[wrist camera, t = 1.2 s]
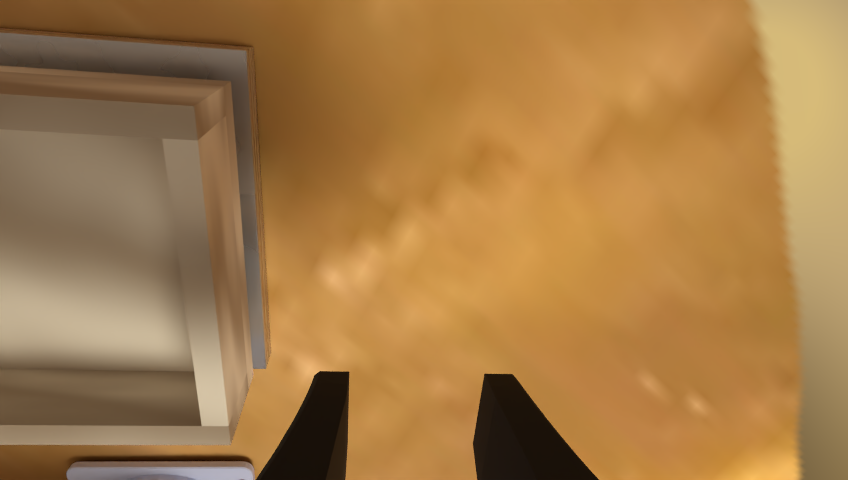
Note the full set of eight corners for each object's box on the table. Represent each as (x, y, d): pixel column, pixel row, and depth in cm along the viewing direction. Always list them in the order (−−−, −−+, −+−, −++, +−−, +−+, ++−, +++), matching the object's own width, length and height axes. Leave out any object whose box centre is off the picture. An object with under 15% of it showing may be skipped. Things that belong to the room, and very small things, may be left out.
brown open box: (258, 359, 20) (230, 445, 17) (-39, 354, 19) (-141, 445, 16) (238, 75, 16) (194, 106, 12) (-153, 49, 15) (-336, 72, 11)
